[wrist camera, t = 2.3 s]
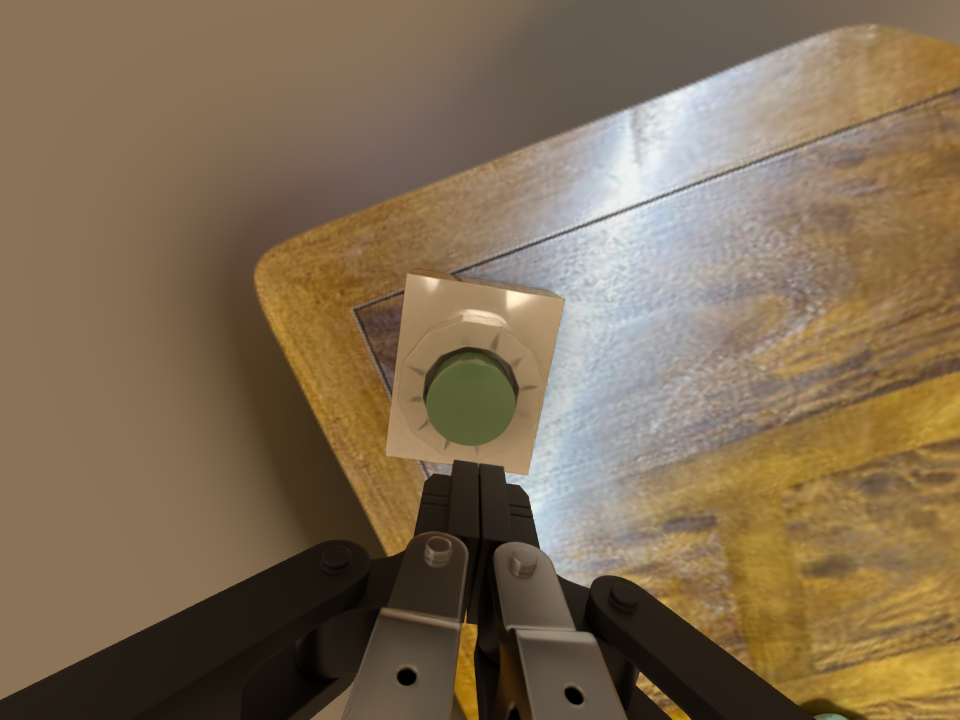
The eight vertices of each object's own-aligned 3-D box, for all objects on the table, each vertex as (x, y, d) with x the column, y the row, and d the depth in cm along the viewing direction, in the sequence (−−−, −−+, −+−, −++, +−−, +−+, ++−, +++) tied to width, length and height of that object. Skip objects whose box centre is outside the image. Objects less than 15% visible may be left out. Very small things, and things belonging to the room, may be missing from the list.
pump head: (436, 345, 21) (432, 355, 19) (518, 357, 21) (523, 369, 19) (425, 421, 22) (420, 439, 20) (503, 433, 22) (506, 451, 20)
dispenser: (416, 268, 26) (400, 276, 20) (551, 290, 26) (574, 304, 20) (396, 426, 28) (377, 474, 22) (520, 444, 29) (532, 495, 23)
